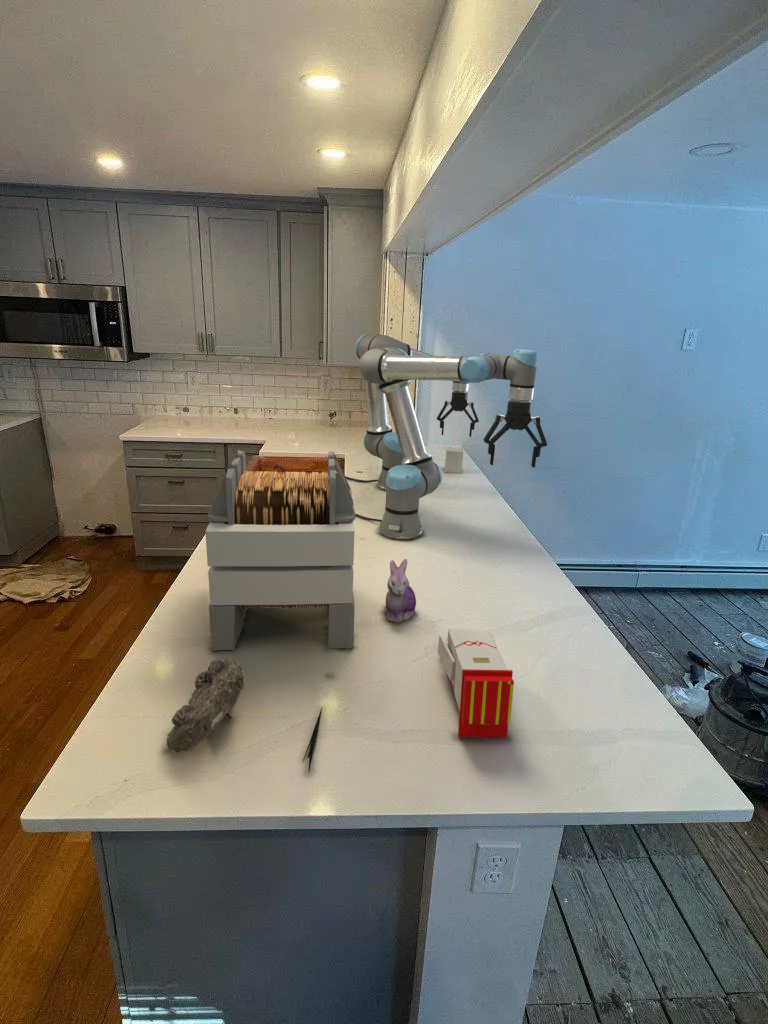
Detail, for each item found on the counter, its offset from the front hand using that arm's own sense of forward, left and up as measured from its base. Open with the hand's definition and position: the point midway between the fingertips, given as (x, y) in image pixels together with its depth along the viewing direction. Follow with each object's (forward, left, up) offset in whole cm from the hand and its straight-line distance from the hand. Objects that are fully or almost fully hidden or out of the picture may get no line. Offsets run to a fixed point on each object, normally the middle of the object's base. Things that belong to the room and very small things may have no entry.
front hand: (512, 465), depth 187 cm
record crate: (-2, -85, -28) cm, 89 cm away
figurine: (+15, -62, -28) cm, 69 cm away
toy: (+47, -71, -28) cm, 90 cm away
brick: (-74, +55, -28) cm, 96 cm away
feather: (+35, -101, -28) cm, 110 cm away
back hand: (-74, +55, -10) cm, 93 cm away
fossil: (+22, -116, -28) cm, 122 cm away
